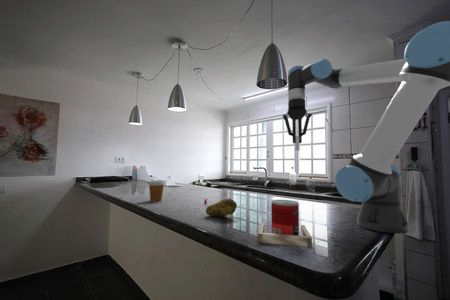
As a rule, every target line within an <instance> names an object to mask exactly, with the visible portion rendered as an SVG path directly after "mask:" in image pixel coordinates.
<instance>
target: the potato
mask: <svg viewBox="0 0 450 300" xmlns="http://www.w3.org/2000/svg"><path fill="white" fill-rule="evenodd" d="M237 205H238V204H237V202H236V201H235V200H233V199H231V198H224V199H221V200H220V201H218V202H216V203H213V204H211V205H208V206H207V207H206V208H205V213H206V215H208V216H209V217H215V218H222V217H223V218H225V217H226V216H230V215H233V214H234V213H235V212H236V209H237V207H238V206H237Z"/></svg>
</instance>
